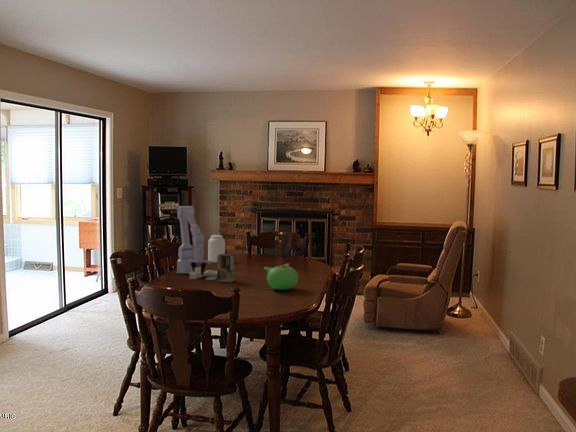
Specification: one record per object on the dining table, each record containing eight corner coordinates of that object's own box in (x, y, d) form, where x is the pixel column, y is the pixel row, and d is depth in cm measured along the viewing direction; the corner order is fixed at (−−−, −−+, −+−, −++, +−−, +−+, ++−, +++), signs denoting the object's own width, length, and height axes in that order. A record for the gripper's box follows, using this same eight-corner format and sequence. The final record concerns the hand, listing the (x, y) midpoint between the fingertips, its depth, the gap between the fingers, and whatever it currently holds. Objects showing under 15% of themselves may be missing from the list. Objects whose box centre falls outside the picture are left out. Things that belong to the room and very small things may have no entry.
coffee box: (234, 280, 312) (235, 254, 310) (230, 282, 305) (230, 256, 304) (221, 279, 315) (221, 253, 313) (216, 281, 308) (216, 255, 307)
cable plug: (189, 279, 314) (189, 273, 314) (191, 277, 318) (191, 272, 318) (197, 279, 313) (197, 273, 313) (199, 278, 317) (199, 272, 317)
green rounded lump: (272, 293, 278) (273, 267, 277) (261, 287, 294) (262, 262, 293) (302, 291, 285) (302, 265, 284) (290, 285, 301) (290, 261, 300)
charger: (194, 277, 320) (194, 267, 319) (196, 276, 324) (196, 266, 323) (200, 277, 319) (200, 268, 319) (202, 276, 323) (202, 266, 323)
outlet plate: (203, 275, 325) (203, 272, 324) (207, 273, 334) (207, 270, 333) (221, 276, 323) (221, 273, 323) (224, 274, 332) (225, 271, 332)
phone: (204, 281, 311) (204, 279, 311) (208, 278, 319) (208, 276, 318) (214, 281, 310) (214, 279, 310) (217, 279, 318) (217, 277, 318)
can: (210, 259, 389) (211, 234, 388) (226, 260, 388) (226, 234, 386) (205, 262, 377) (206, 235, 376) (222, 263, 375) (222, 236, 374)
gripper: (185, 253, 317) (185, 275, 318) (208, 254, 315) (207, 276, 316) (189, 252, 324) (189, 273, 325) (211, 253, 322) (211, 274, 323)
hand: (198, 274), depth 321 cm, fingers open, 4 cm apart
